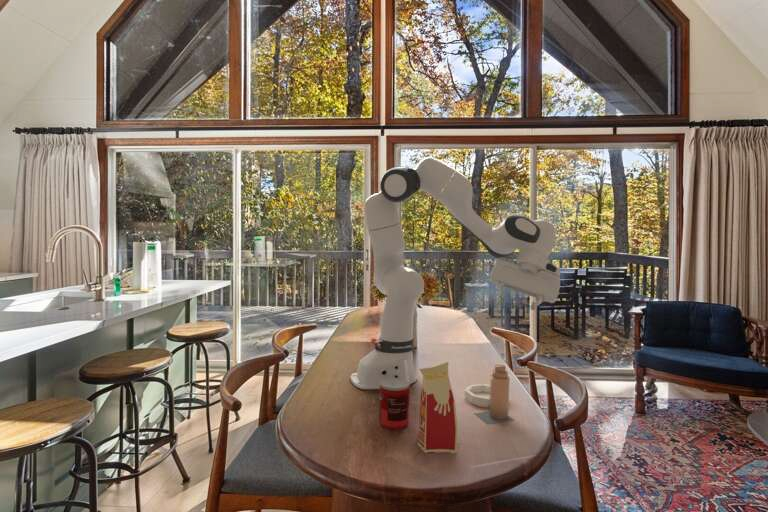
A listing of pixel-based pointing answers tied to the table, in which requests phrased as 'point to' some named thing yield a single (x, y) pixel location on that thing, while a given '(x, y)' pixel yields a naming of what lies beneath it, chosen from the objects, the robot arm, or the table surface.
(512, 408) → the table surface
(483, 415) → the felt mat
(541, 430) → the table surface
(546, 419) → the table surface
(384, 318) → the robot arm
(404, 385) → the canned food
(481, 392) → the bowl
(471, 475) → the table surface
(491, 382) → the tan knobbed cylinder
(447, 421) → the milk carton
